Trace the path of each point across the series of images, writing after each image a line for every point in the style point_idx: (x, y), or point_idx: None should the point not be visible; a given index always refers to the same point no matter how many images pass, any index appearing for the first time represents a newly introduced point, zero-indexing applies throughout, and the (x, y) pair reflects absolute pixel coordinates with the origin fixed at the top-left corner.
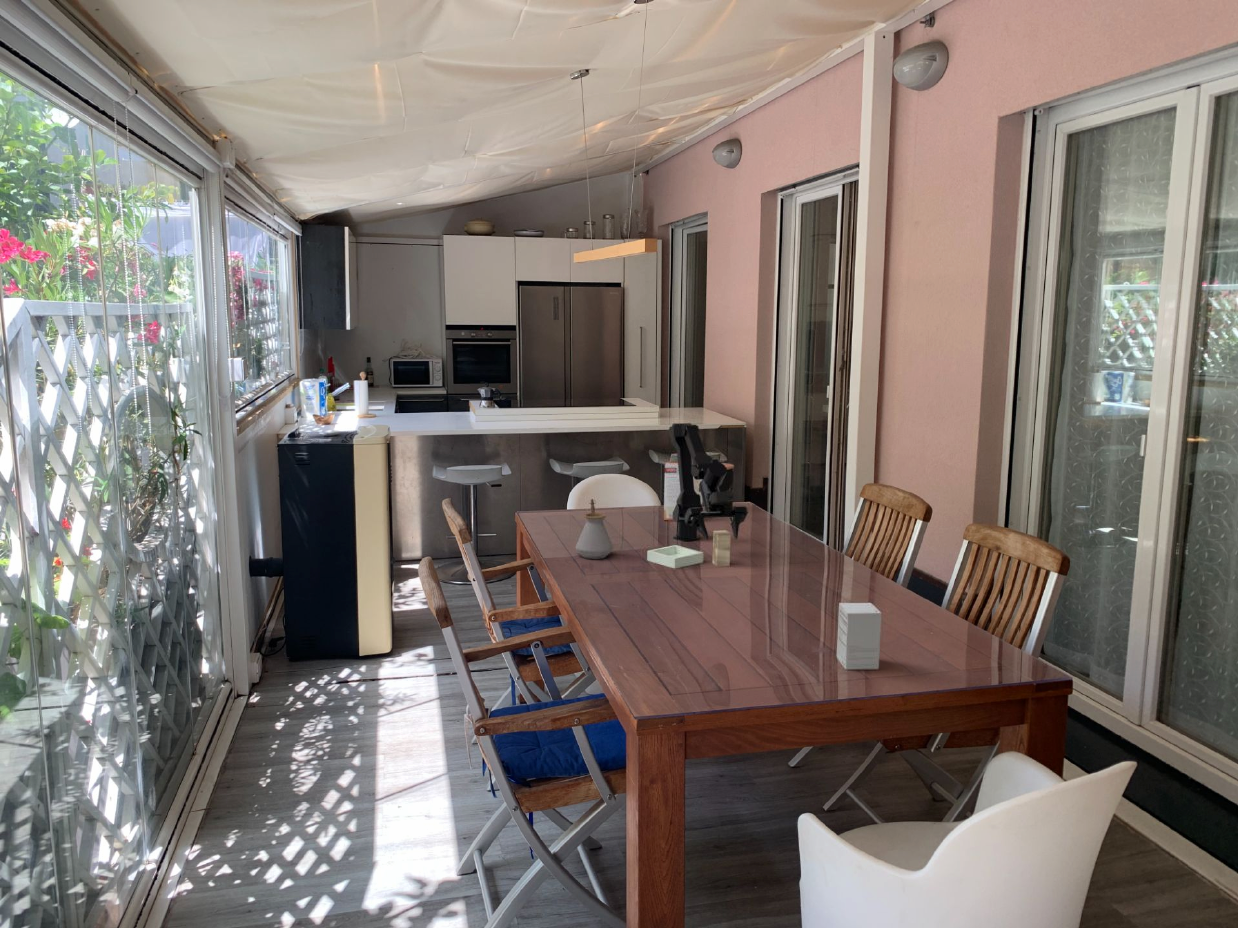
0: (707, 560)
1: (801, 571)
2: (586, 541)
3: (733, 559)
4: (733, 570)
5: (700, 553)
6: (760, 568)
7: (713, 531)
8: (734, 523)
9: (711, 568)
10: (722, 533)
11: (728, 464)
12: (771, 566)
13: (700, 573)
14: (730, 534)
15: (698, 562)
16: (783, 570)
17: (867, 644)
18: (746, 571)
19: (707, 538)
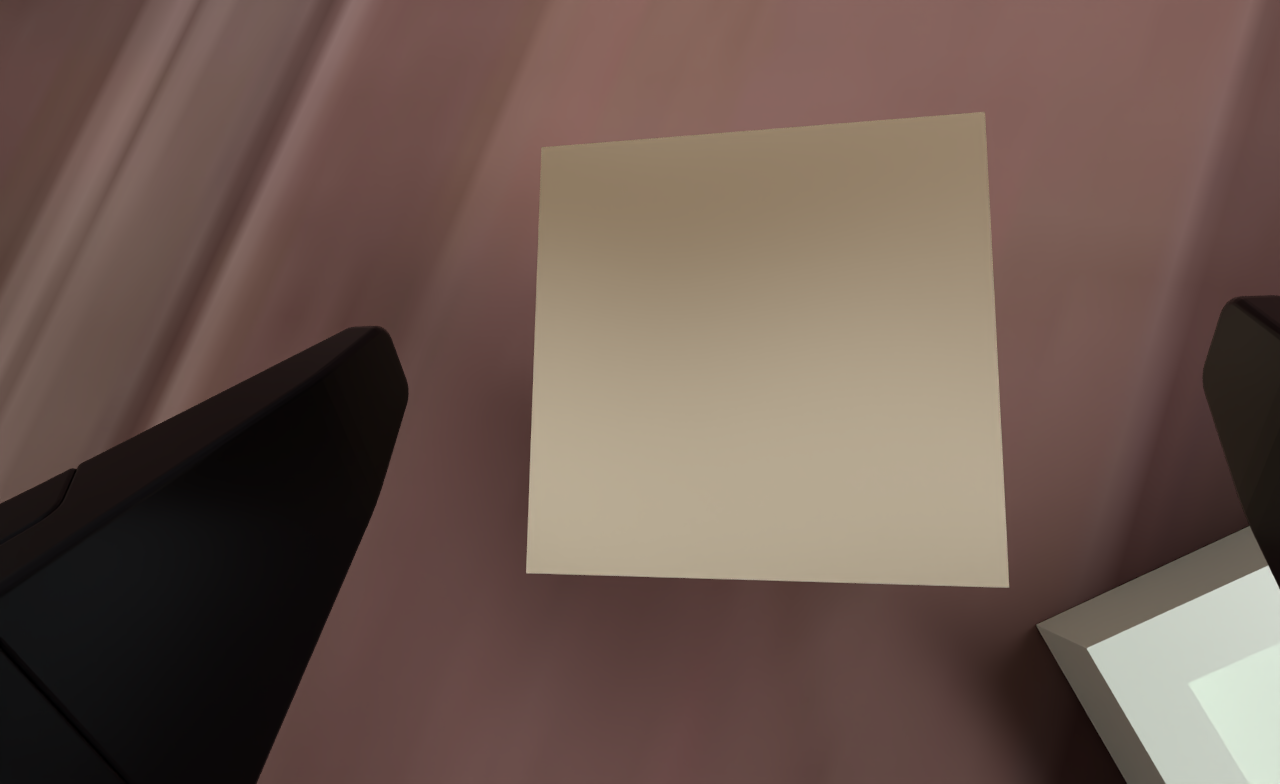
0: (924, 723)
1: (20, 23)
2: None
3: (507, 683)
4: (721, 125)
5: (1164, 608)
6: (359, 180)
7: (1004, 572)
8: (65, 651)
9: (1004, 256)
10: (808, 138)
11: None
12: (203, 250)
13: (1262, 16)
14: (556, 161)
15: (1142, 579)
16: (163, 74)
17: None
18: (576, 66)
19: (1262, 296)
